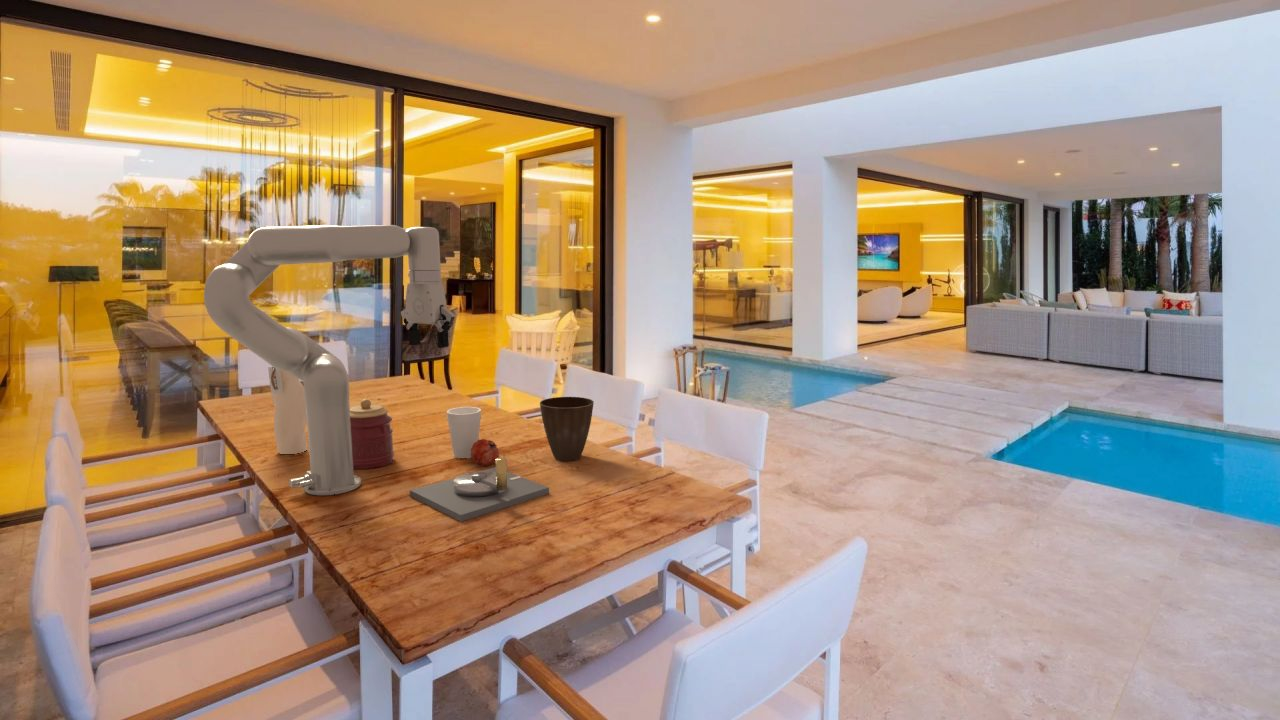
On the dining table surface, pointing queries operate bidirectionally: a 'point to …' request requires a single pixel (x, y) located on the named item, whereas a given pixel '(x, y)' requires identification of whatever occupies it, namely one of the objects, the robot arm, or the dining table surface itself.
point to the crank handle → (483, 481)
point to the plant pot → (567, 425)
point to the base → (471, 507)
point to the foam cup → (463, 429)
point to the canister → (371, 435)
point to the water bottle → (288, 412)
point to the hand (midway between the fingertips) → (428, 346)
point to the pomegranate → (484, 452)
